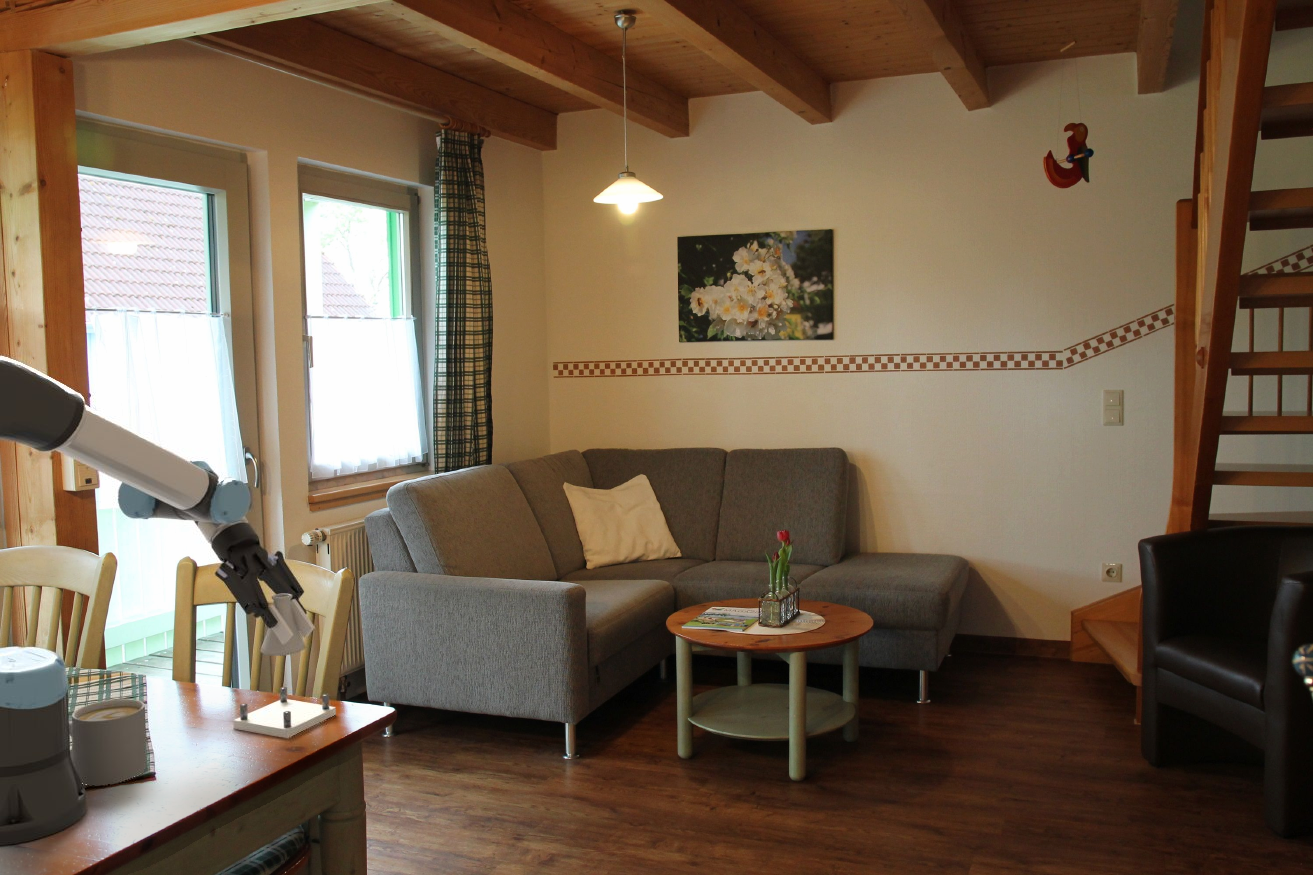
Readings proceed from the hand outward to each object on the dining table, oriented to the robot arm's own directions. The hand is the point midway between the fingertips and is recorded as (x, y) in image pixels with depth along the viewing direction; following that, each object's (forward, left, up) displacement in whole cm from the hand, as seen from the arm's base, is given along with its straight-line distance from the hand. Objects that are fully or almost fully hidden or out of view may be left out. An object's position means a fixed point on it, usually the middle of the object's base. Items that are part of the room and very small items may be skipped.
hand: (298, 635), depth 176 cm
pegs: (0, +4, -15) cm, 15 cm away
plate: (0, +4, -16) cm, 16 cm away
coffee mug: (-28, +15, -16) cm, 35 cm away
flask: (0, +4, -4) cm, 5 cm away
